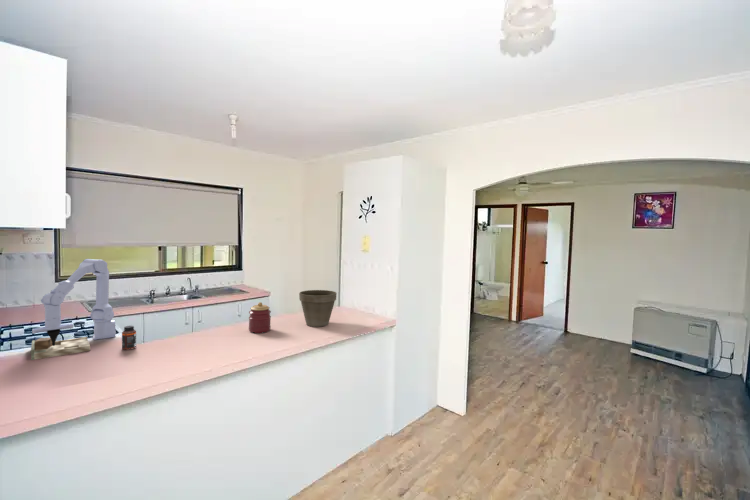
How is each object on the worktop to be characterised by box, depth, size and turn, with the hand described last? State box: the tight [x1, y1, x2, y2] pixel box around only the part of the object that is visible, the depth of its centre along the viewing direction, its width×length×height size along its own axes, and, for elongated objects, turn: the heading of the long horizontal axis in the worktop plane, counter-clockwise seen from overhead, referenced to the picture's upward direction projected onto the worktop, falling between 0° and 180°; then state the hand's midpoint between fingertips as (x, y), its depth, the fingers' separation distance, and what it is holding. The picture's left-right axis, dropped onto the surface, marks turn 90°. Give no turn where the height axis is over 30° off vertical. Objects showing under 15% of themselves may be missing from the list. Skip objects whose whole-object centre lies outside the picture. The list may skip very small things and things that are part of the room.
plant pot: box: [298, 289, 337, 328], centre depth 239 cm, size 25×25×22 cm
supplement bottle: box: [121, 325, 137, 351], centre depth 181 cm, size 6×6×11 cm
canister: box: [248, 301, 272, 334], centre depth 219 cm, size 13×13×18 cm
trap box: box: [30, 336, 91, 361], centre depth 175 cm, size 21×18×4 cm
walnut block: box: [35, 337, 52, 350], centre depth 172 cm, size 5×5×4 cm
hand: (53, 345), depth 173 cm, fingers closed
